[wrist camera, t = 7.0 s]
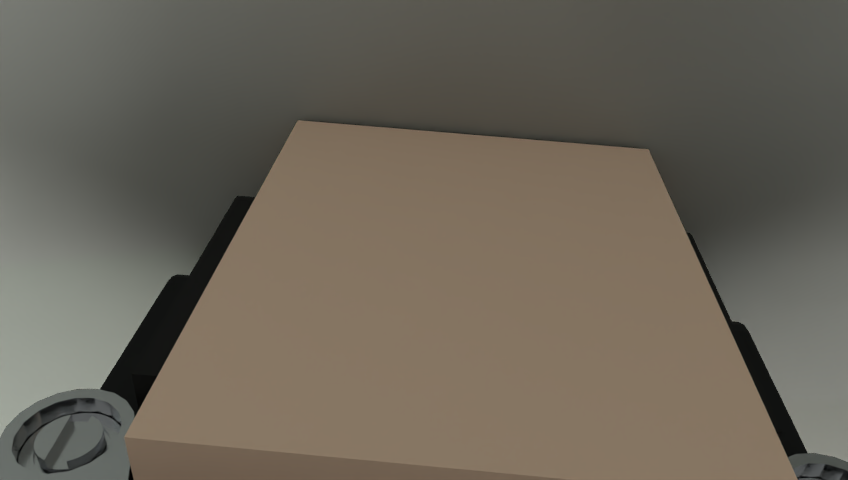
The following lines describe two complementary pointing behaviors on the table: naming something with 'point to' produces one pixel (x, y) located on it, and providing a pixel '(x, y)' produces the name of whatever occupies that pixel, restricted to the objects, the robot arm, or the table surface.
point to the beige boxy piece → (456, 325)
